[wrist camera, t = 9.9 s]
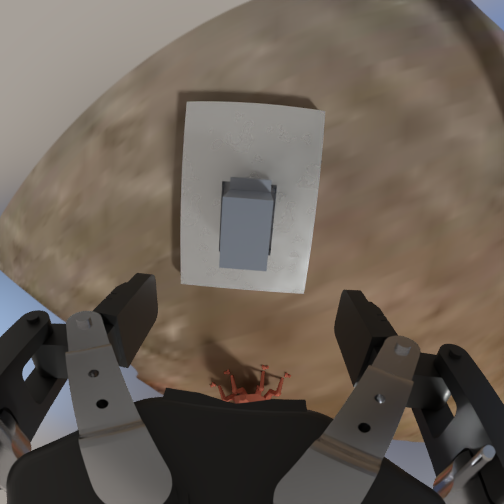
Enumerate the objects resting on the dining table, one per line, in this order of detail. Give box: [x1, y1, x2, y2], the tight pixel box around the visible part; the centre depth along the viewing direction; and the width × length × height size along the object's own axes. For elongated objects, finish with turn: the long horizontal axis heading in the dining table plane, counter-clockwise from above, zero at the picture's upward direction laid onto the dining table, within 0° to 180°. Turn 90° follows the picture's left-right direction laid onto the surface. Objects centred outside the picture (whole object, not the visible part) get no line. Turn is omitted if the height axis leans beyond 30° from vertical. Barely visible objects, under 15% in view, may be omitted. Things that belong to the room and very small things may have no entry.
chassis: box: [180, 101, 325, 294], centre depth 29 cm, size 14×20×2 cm
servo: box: [219, 177, 273, 271], centre depth 27 cm, size 4×8×8 cm, turn 175°
